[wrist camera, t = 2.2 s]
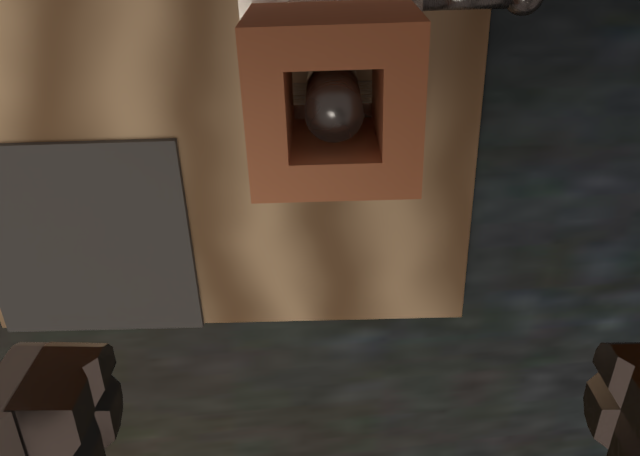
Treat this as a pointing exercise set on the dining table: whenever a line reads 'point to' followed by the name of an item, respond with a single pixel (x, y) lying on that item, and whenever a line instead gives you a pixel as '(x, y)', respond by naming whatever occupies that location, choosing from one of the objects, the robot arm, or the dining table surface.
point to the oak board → (231, 158)
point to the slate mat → (95, 237)
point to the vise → (356, 96)
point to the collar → (329, 55)
